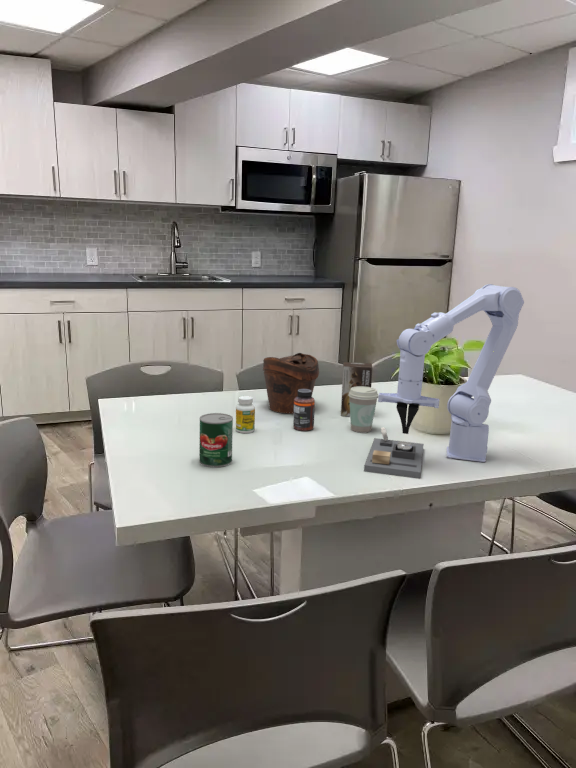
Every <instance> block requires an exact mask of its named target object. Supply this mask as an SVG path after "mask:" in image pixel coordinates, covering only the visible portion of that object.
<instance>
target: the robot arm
mask: <svg viewBox="0 0 576 768" xmlns="http://www.w3.org/2000/svg"><path fill="white" fill-rule="evenodd" d="M521 292H522V291H520V289H518V288H517V287H515V286H504V285H503V286H502V285H494V284H493V283H487V284H485V285H483V286H482V287H481V288H478V289H476V290H475V291H474V293H473V294H472V295H470V296H469V297H467V298H466V299H465V300H463V301H462V302H461V303H459V304H458V305H455V307H454V308H452V309H451V310H449V311H448V312H446V313H445V312H440V311H439V312H435V311H434V312H433V313H431V314H430V317H428V318H427V319H426V320H424V321H423V322H421V323H419V322H418V323H417V324H415V327H413V328H406V329H403V330H402V332H401V333H400V335H399V336H398V339H396V346H397V347H398V349H399V356H400V357H399V369H398V378H397V390H396V391H397V392H396V393H392V392H391V393H389V392H379V393H378V398H377V402H378V403H391V404H396V411H397V413H398V415H399V419H400V423H401V430H402V432H401V433H402V434H404V435H405V434H406V435H409V431H410V427H411V425H412V422H413V420H414V419H415V416H416V415H417V414H418V412H419V410H420V407H428V408H429V407H430V408H434V409H439V408H440V398H436V397H429V396H425V395H422V390H423V389H422V388H423V378H424V367H425V358H426V354H428V353H429V351H430V350H431V349H432V348H431V347H432V346H433V345H434V344H435V343H437V342H438V341H440V340H442V339H443V338H445V337H447V336H448V335H450V334H452V333H453V331H454V326H455V325H457V324H459V323H460V322H463V321H464V320H466V319H468V318H471V316H474V315H475V314H477V313H479V312H482V311H483V312H485V314H486V315H487V317H488V318H489V320H490V322H491V325H492V327H491V329H490V330H489V333H488V335H487V337H486V339H485V342H484V344H483V346H482V348H481V350H480V353H479V355H478V357H477V360H476V361H475V364H474V366H473V368H472V370H471V371H470V374H469V376H468V378H467V381H466V382H465V383H463V384H460V385H459V386H458V387H457V388H456V391H455V392H454V393H453V395H451V396H450V397H449V399H448V400H447V405H446V409H447V411H448V413H449V414H450V419H451V422H450V431H449V433H450V434H449V442H448V445H447V446H446V458H448V459H456V460H464V461H472V462H473V461H474V462H479V463H485V462H487V461H486V458H487V453H488V442H489V433H490V431H489V430H490V427H489V424H486V423H484V422H485V421H487V419H488V417H489V410H490V405H491V403H492V398H491V395H490V394H489V391H488V390H489V389H490V387H491V384H492V383H493V380H494V378H495V376H496V373H497V371H498V369H499V367H500V365H501V362H502V360H503V359H504V356H505V354H506V352H507V350H508V347H509V346H510V343H511V341H512V339H513V337H514V335H515V333H516V331H517V328H518V325H519V315H520V313H521V310H522V308H523V307H524V304H525V300H524V298H523V295H522V293H521ZM493 351H494V352H493Z"/></svg>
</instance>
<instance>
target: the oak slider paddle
mask: <svg viewBox="0 0 576 768" xmlns="http://www.w3.org/2000/svg"><path fill="white" fill-rule="evenodd" d="M390 455H391V452H385V451H377V450H374V452H373V456H372V463H380V464H388V465H389V462H390Z"/></svg>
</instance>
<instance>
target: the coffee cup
mask: <svg viewBox="0 0 576 768" xmlns="http://www.w3.org/2000/svg"><path fill="white" fill-rule="evenodd" d="M378 395H379V393H378V389H376V388H374V387H372V386H371V387H364V386H357V387H352V388H351V389H350V392H349V399H350V416H349V418H350V430H351V431H353V432H357V433H362V434H364V433H370V432H371V431H372V427H373V422H374V416H375V412H376V407H377V402H378Z"/></svg>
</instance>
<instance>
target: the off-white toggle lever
mask: <svg viewBox="0 0 576 768" xmlns="http://www.w3.org/2000/svg"><path fill="white" fill-rule="evenodd" d="M380 431H381V435H382V439H384V440H389V436H388V432H387V430H386V428H385V427H381V428H380Z"/></svg>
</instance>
